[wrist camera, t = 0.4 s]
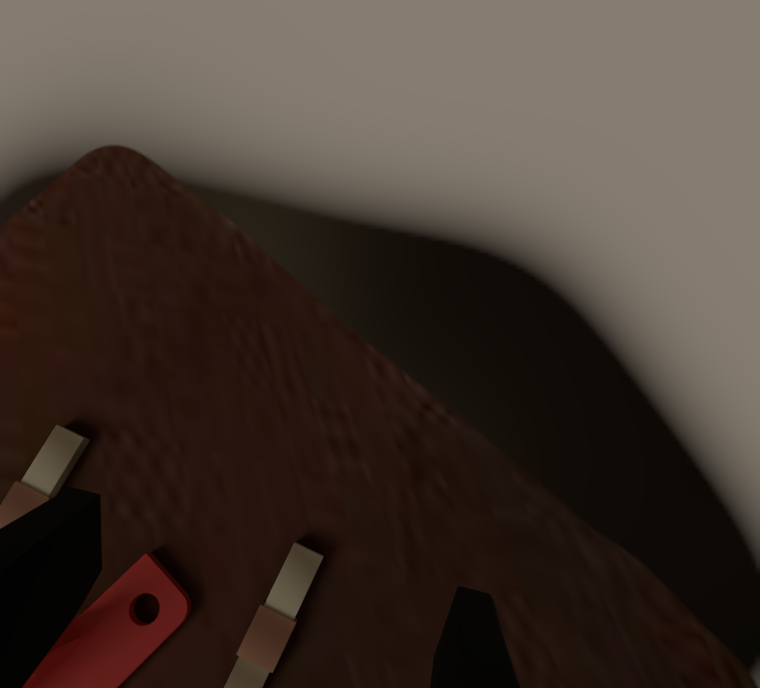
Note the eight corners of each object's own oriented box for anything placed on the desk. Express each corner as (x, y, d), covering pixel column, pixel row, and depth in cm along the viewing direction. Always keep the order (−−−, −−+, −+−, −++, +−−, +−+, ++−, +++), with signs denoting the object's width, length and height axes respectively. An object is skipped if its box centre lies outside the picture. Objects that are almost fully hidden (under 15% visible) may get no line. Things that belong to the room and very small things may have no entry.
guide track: (191, 848, 34) (185, 859, 33) (-105, 688, 36) (-119, 694, 34) (326, 557, 39) (326, 558, 38) (61, 425, 40) (52, 422, 39)
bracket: (37, 768, 35) (-48, 837, 27) (-11, 706, 36) (-107, 757, 28) (199, 606, 38) (162, 628, 30) (151, 552, 38) (103, 560, 31)
